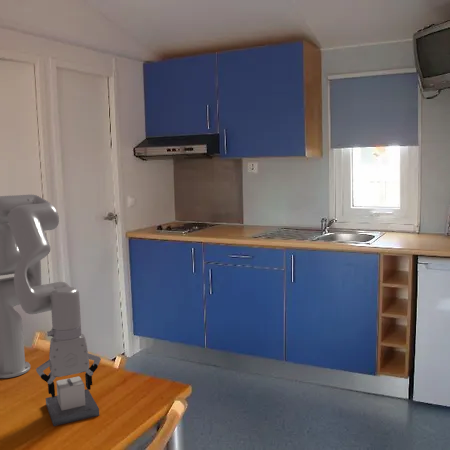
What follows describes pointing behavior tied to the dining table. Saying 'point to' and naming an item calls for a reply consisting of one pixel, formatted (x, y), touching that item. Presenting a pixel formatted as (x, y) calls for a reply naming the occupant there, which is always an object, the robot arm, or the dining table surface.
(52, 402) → the plate
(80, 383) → the knob
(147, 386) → the dining table surface
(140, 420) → the dining table surface
